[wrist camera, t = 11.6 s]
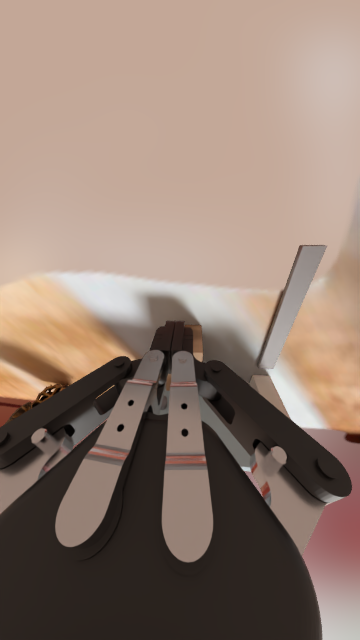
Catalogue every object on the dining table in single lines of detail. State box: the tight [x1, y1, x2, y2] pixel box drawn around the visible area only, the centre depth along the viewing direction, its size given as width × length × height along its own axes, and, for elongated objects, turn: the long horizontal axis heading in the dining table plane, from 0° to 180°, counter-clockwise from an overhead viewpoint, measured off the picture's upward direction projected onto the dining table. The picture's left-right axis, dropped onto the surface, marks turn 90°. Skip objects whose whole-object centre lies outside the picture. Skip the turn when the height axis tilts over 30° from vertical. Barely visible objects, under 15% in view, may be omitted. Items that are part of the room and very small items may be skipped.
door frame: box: [249, 245, 327, 420], centre depth 20 cm, size 3×32×14 cm, turn 1°
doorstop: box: [166, 325, 203, 391], centre depth 24 cm, size 5×8×6 cm, turn 1°
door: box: [160, 388, 251, 471], centre depth 23 cm, size 3×18×12 cm, turn 86°
